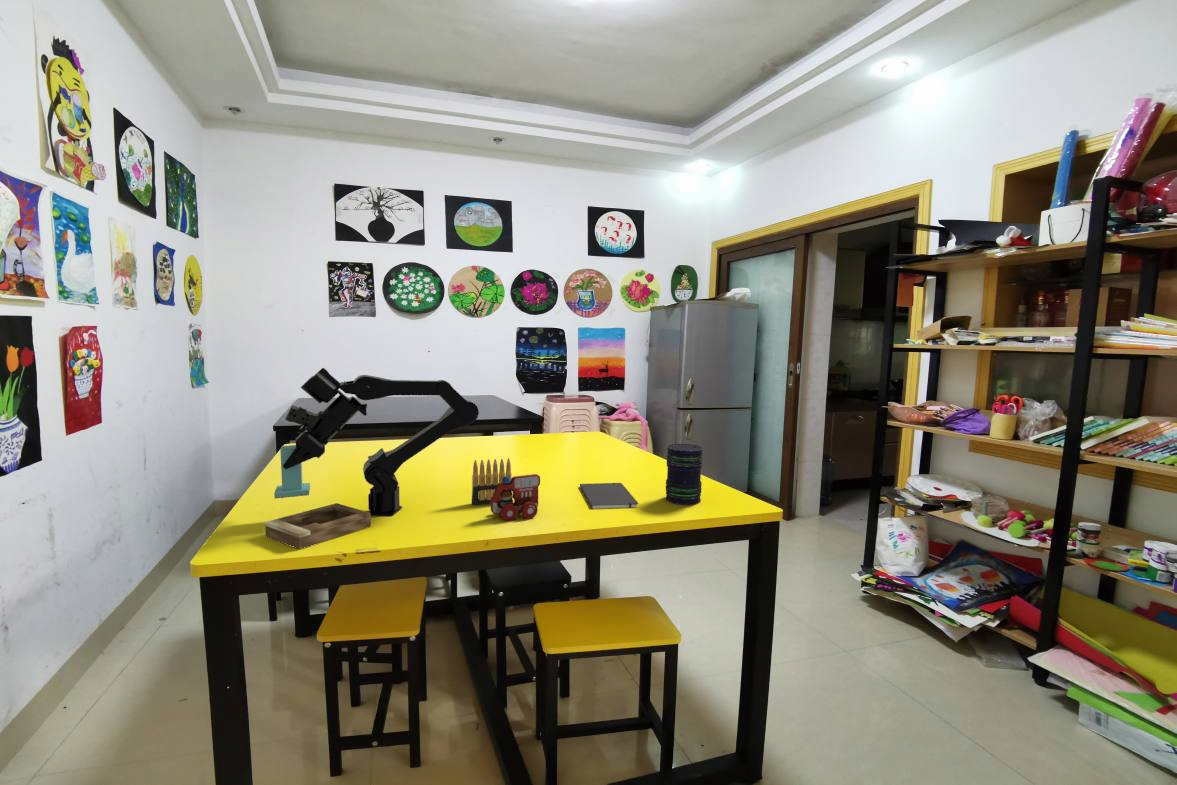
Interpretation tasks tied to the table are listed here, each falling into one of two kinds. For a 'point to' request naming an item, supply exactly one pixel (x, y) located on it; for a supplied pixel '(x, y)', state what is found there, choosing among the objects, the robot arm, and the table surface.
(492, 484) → the ammunition clip
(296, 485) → the peg
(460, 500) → the table surface
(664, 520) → the table surface
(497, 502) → the toy fire truck
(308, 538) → the keyhole plate
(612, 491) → the notebook
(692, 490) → the storage jar
